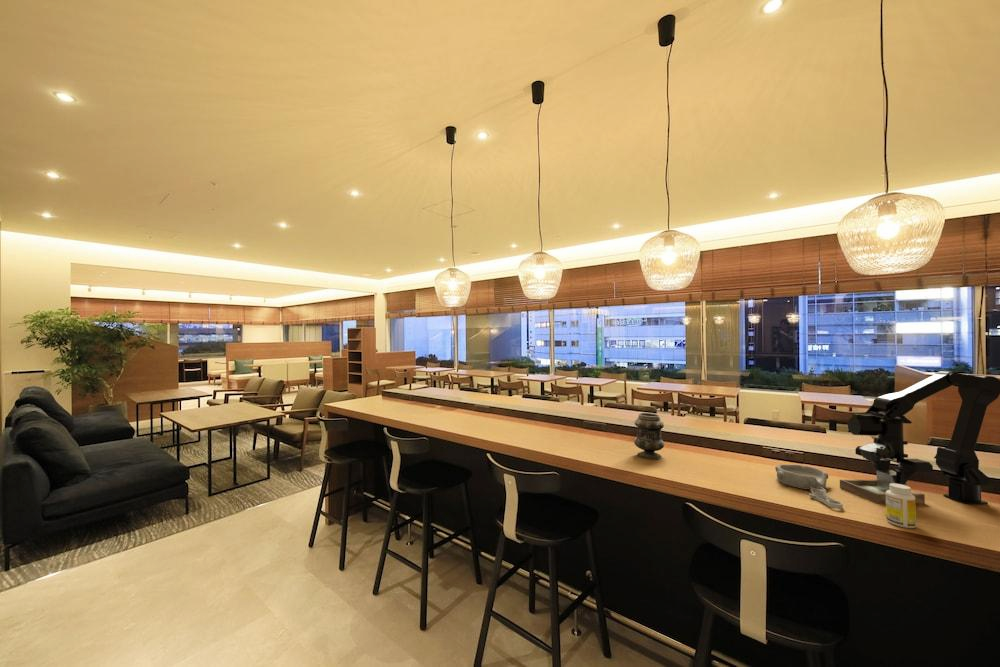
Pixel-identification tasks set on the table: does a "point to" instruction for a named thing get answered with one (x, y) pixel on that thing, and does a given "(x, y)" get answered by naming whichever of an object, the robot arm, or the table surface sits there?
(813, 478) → the dish
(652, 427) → the apothecary jar
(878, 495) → the brown square tray
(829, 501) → the bracket
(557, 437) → the table surface
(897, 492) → the supplement bottle
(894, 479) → the clip
